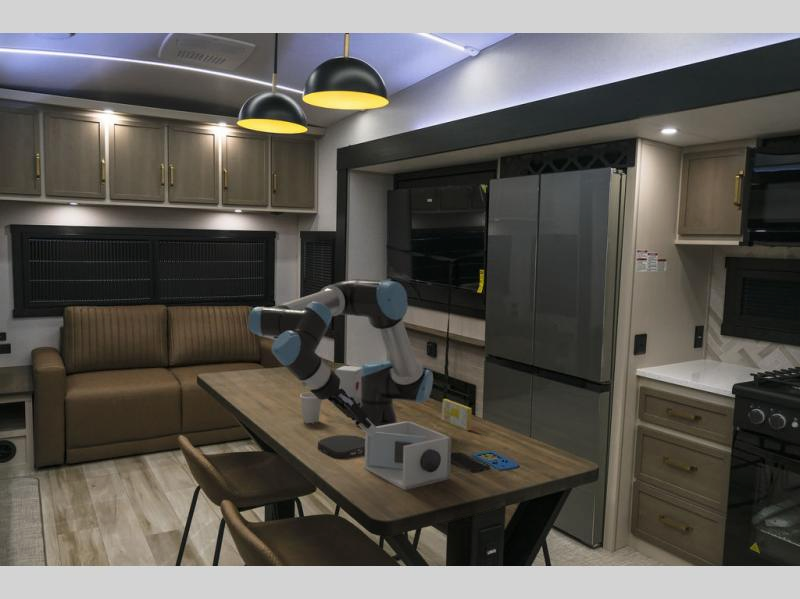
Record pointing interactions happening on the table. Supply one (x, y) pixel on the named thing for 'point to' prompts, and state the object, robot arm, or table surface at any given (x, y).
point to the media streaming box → (342, 446)
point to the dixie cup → (310, 407)
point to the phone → (467, 462)
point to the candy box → (456, 414)
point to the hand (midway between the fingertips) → (373, 432)
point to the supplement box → (350, 381)
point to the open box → (415, 457)
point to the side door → (390, 448)
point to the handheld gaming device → (497, 461)
